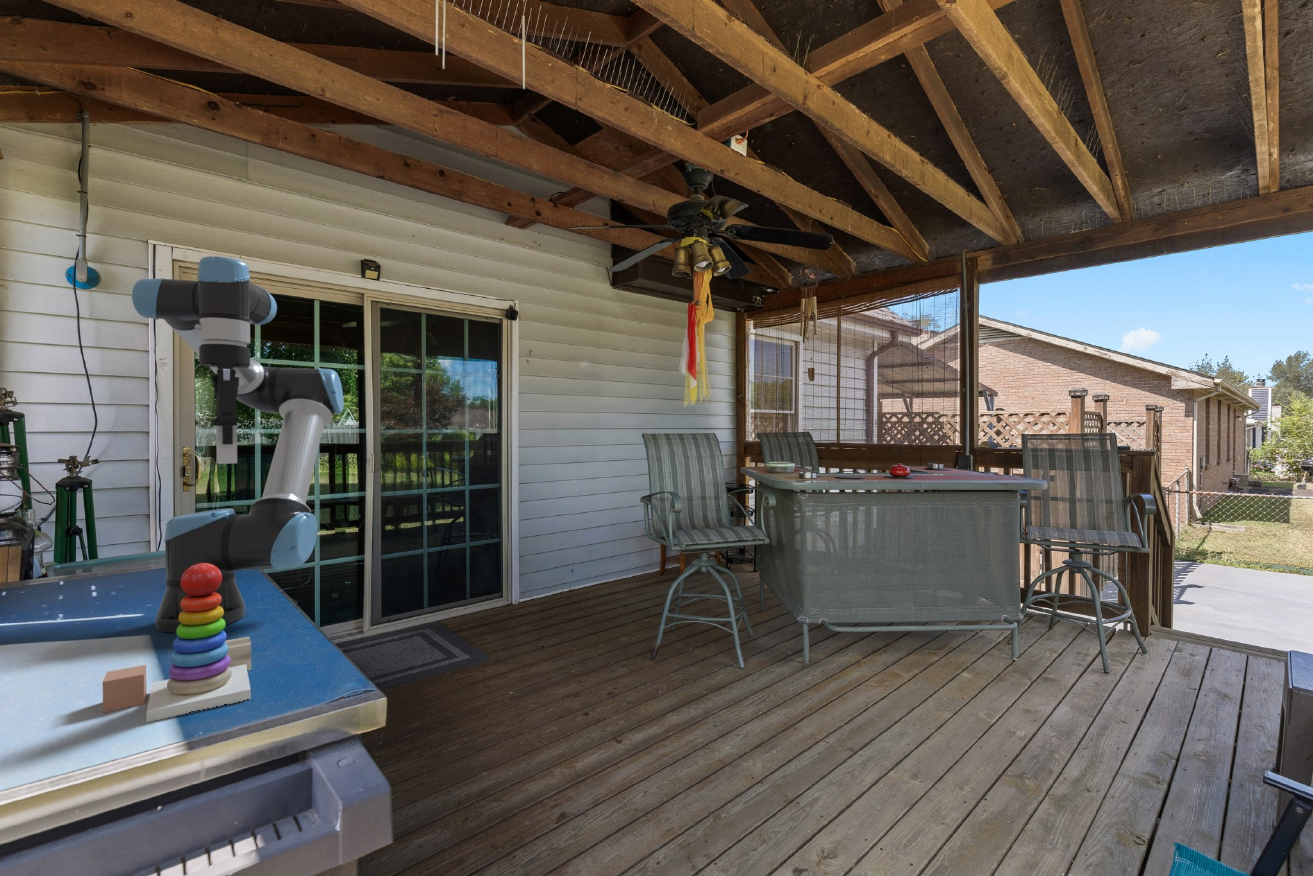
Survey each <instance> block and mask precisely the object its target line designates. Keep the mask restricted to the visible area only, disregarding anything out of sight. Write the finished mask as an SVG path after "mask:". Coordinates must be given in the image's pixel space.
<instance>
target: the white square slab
mask: <svg viewBox="0 0 1313 876" xmlns="http://www.w3.org/2000/svg"><path fill="white" fill-rule="evenodd" d="M229 668H230V669H231V670H232V676H231V678H230V679H229V680H228V681H227V682H226V683H225V684H223V685H222V686H220V687H218V688H215V689H212V690H209V691H206V692H202V693H196V694H188V695H180V694H174V693H172V692H170V691H169V690H168V688H167V683H168V681H169V679H170V678H168V679H164V680H159V681H154V682H152V684H151V688H150V692H149V693H150V694H149V697H148V701H147V702H148V703H147V708H146V723H152V722H155V720H156V721H160V720H164V719H168V717H169V718H172V717H177V715H178V716H182V715H186V713H187V714H190V713H189V712H191V711H196V712H198V711H197V710H200V711H204V710H203V709H205V710H208V709H207V708H209V709H213V707H214V708H217V707H216V706H218V707H221V706H222V705H223V706H225V705H224V704H227V705H230V704H231V705H232V704H235V703H239V701H240V702H244V700H245V701H248V700H247V699H249V700H252V699H251V697H252V694H251V690H252V689H251V683H250V678H249V673H248V672H249V671H247V666H246V664H245V665H240V666H235V667H229ZM191 713H192V712H191Z"/></svg>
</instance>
